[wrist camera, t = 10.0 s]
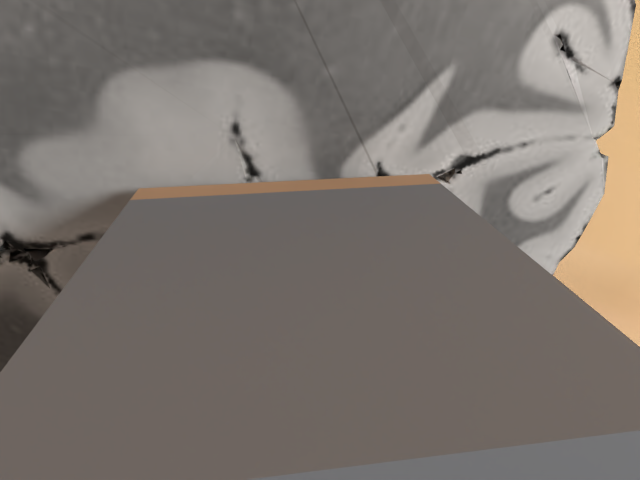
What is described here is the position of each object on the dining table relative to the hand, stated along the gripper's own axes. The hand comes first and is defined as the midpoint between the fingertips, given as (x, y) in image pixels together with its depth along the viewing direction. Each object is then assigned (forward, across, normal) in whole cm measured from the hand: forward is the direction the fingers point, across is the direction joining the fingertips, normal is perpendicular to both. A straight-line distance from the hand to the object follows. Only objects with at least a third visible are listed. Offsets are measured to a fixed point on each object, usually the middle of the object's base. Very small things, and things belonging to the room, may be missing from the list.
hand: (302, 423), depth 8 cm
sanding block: (+1, 0, 0) cm, 1 cm away
